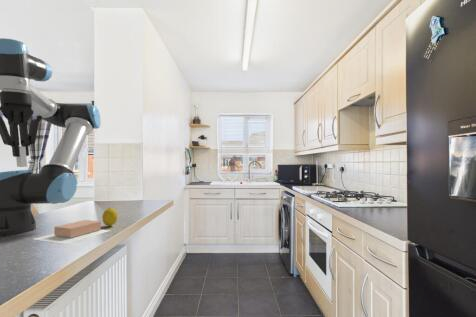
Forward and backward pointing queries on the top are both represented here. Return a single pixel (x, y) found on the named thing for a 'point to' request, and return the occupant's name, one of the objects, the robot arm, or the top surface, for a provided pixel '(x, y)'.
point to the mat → (68, 240)
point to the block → (77, 228)
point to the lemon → (109, 217)
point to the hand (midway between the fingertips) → (22, 166)
